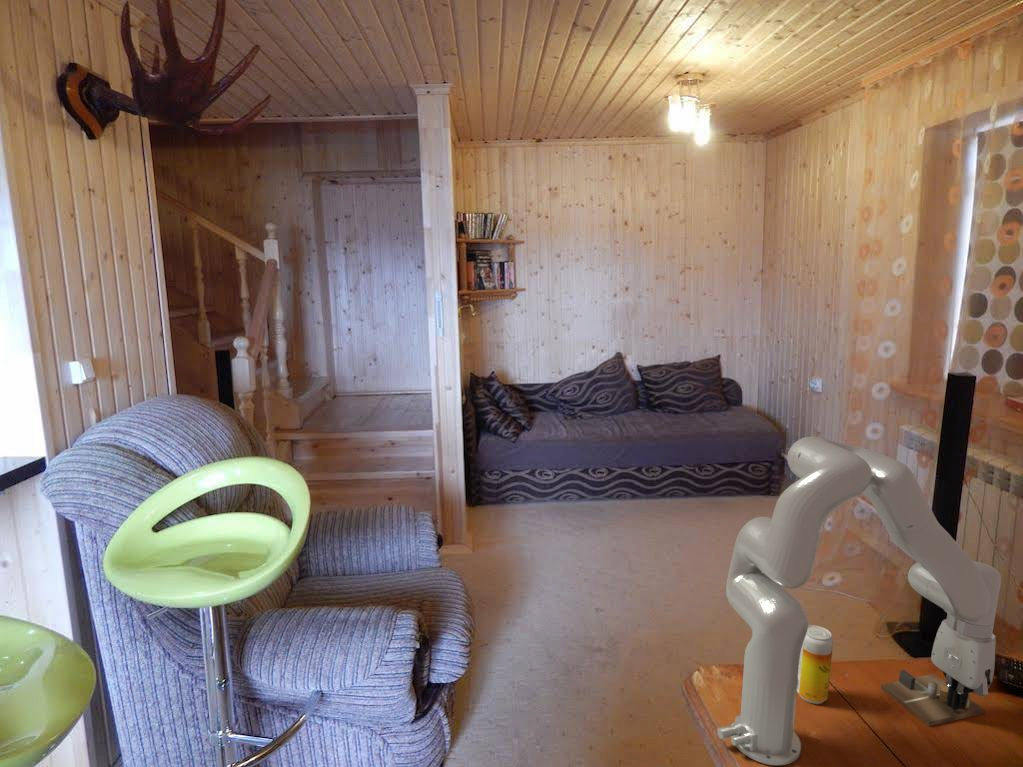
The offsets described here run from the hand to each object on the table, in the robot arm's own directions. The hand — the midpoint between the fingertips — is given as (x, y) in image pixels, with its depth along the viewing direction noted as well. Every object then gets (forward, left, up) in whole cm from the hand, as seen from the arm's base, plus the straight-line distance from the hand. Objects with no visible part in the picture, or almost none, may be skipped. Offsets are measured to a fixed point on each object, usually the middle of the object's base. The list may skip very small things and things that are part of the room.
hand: (955, 706), depth 134 cm
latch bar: (+2, +2, -1) cm, 3 cm away
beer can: (-24, +13, -2) cm, 27 cm away
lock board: (-1, +5, -2) cm, 5 cm away
